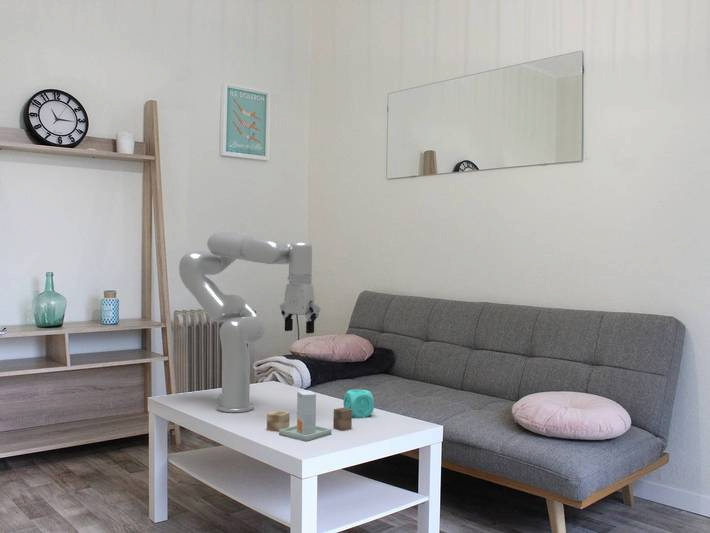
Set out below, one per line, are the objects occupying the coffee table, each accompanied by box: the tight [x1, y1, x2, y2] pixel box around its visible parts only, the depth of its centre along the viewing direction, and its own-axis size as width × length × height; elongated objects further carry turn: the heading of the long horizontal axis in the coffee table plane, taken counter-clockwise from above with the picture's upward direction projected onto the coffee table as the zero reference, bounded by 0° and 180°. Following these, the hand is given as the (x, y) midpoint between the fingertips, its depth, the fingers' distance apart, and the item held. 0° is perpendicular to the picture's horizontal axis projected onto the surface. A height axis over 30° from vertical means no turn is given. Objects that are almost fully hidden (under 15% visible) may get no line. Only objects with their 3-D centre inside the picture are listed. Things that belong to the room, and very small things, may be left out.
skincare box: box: [296, 389, 317, 435], centre depth 200 cm, size 6×4×12 cm
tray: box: [278, 424, 333, 442], centre depth 200 cm, size 11×11×2 cm
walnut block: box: [332, 407, 353, 432], centre depth 208 cm, size 4×4×6 cm
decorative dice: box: [343, 389, 375, 419], centre depth 227 cm, size 8×8×8 cm
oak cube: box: [266, 410, 290, 433], centre depth 206 cm, size 5×5×5 cm
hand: (299, 332), depth 221 cm, fingers open, 9 cm apart
